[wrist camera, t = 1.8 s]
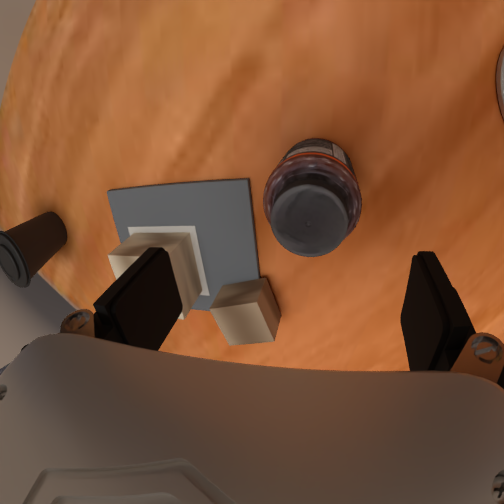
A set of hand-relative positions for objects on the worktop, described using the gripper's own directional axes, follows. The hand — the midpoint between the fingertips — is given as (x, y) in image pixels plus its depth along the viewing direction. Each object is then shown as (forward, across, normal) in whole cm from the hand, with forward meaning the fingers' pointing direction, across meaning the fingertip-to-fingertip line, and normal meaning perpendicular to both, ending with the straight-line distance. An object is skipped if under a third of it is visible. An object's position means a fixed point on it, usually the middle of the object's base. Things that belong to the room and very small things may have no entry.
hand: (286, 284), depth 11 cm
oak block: (+16, +6, +13) cm, 22 cm away
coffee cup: (+17, +34, +5) cm, 39 cm away
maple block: (+16, +15, +9) cm, 24 cm away
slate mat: (+16, +13, +8) cm, 22 cm away
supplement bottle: (+16, -1, 0) cm, 16 cm away
